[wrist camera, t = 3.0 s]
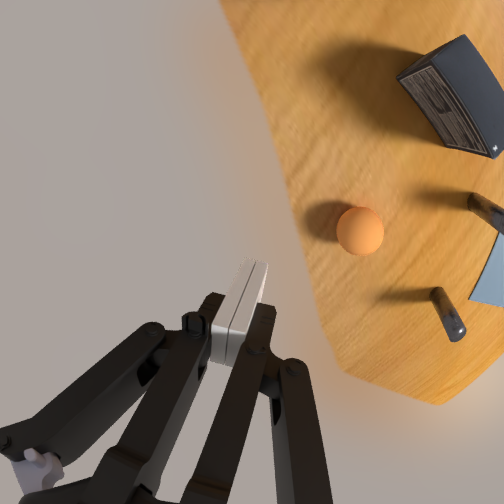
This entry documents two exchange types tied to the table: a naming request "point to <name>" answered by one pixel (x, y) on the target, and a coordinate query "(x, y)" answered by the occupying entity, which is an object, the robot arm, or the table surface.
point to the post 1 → (448, 314)
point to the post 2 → (487, 211)
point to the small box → (459, 97)
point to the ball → (360, 231)
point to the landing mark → (492, 277)
